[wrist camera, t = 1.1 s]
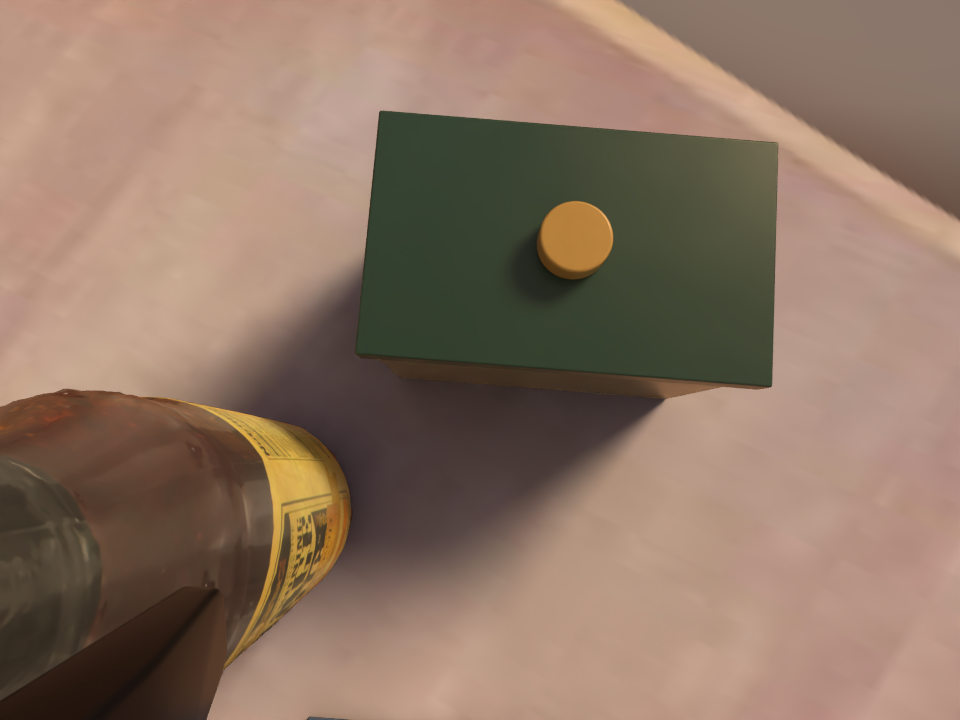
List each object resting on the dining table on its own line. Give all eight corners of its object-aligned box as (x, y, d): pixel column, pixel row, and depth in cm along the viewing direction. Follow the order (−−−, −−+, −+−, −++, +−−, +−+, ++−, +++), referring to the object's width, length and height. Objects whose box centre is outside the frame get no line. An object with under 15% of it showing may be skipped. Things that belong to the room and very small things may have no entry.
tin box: (673, 404, 25) (788, 384, 16) (392, 382, 25) (348, 349, 16) (680, 237, 26) (794, 127, 17) (408, 215, 25) (374, 93, 17)
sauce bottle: (261, 634, 24) (-826, 1636, 4) (150, 499, 24) (-1318, 773, 4) (402, 507, 24) (83, 815, 4) (291, 378, 25) (-442, 135, 5)
